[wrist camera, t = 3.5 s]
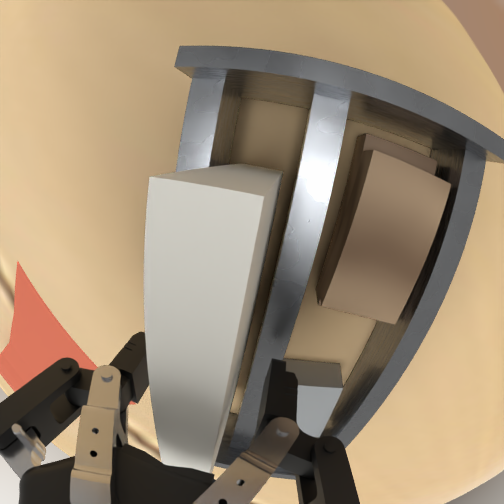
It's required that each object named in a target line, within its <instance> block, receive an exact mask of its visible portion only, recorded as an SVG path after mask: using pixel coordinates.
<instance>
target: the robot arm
mask: <svg viewBox="0 0 504 504" xmlns="http://www.w3.org/2000/svg"><path fill="white" fill-rule="evenodd" d="M148 386H149V376H148V366H147V354H146V339H145V333H144V332H139V333H137V334H135V335H133V336H132V337H131V339H130V340H129V341H128V343H126V345H125V346H124V348H122V349H121V351H120V352H119V353H118V354H117V356H116V357H115V358H114V359H113V361H112V362H111V363H110V364H109V365H103V366H100V367H98V368H97V369H95V370H90V369H84V368H80V367H79V364H78V362H77V361H76V360H74V359H72V358H68V357H66V358H61V359H59V360H58V361H56V362H55V363H53V364H52V365H51V366H49V367H48V368H47V369H45V370H44V371H43V372H41V373H40V374H38V375H37V376H36V377H34V378H33V379H32V380H30V381H29V382H28V383H26V384H25V385H24V386H22V387H21V388H20V389H18V390H17V391H16V392H14V393H13V394H12V395H10V396H9V397H8V398H6V399H5V400H4V401H2V402H1V403H0V455H1V456H2V457H3V458H4V459H5V460H6V462H7V463H8V464H9V465H10V467H11V468H12V469H13V471H14V472H15V473H16V474H17V475H18V477H19V478H20V479H21V480H20V497H19V504H249V503H250V502H251V501H252V499H253V498H254V497H255V496H256V494H257V493H258V492H259V491H260V489H261V488H262V487H263V485H264V484H265V483H266V482H267V480H268V479H269V478H270V476H271V475H272V474H273V472H274V471H275V469H276V468H277V467H280V468H283V469H285V470H287V471H290V472H292V473H295V477H296V484H297V491H298V499H299V504H360V502H359V498H358V494H357V490H356V487H355V483H354V479H353V475H352V472H351V468H350V465H349V461H348V457H347V454H346V450H345V447H344V444H343V443H342V442H341V440H339V439H338V438H336V437H333V436H323V437H321V438H319V439H318V438H315V437H313V436H310V435H308V434H306V433H304V432H303V431H302V430H301V429H300V428H299V426H298V424H297V398H298V397H297V395H298V379H297V377H296V375H295V373H293V372H288V371H286V361H284V360H279V359H274V358H272V359H271V362H270V366H269V369H268V372H267V375H266V378H265V381H264V386H263V391H262V396H261V402H260V408H259V414H258V419H257V425H256V430H255V435H254V439H256V440H255V441H254V442H253V443H252V444H251V446H250V447H249V448H248V449H247V450H246V451H245V452H242V453H241V454H240V455H239V456H238V457H237V459H236V460H235V461H234V462H233V463H232V464H231V465H230V466H229V467H228V468H227V469H226V471H225V472H224V473H223V474H222V475H221V476H220V477H219V478H218V479H217V480H214V475H215V474H211V473H207V472H204V471H200V470H196V469H193V468H186V467H177V466H169V465H165V464H163V463H162V462H160V461H158V460H157V459H155V458H154V457H152V456H151V455H149V454H148V453H146V452H145V451H142V450H140V449H137V448H135V447H133V446H131V445H128V438H127V432H128V405H129V403H130V402H131V401H133V402H135V403H137V404H138V402H139V401H140V399H141V397H142V396H143V394H144V392H145V391H146V389H147V387H148ZM80 415H81V416H80ZM79 416H80V422H79V429H78V436H77V445H76V454H75V456H73V457H70V458H67V459H63V460H59V461H55V462H52V463H48V464H44V465H41V461H44V459H45V454H46V448H45V447H46V446H47V445H48V444H49V443H50V442H51V441H52V440H54V439H55V438H56V437H57V436H58V435H59V434H60V433H61V432H62V431H63V430H64V429H66V428H67V427H68V426H69V425H70V424H71V423H72V422H73V421H74V420H75V419H76V418H77V417H79Z"/></svg>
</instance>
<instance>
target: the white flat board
mask: <svg viewBox="0 0 504 504" xmlns="http://www.w3.org/2000/svg"><path fill="white" fill-rule="evenodd" d="M283 172H284V171H280V170H275V169H270V168H265V167H259V166H254V165H249V164H243V163H240V164H230V165H222V166H214V167H206V168H199V169H192V170H185V171H179V172H173V173H167V174H161V175H156V176H150V178H149V187H148V198H147V210H146V225H145V246H144V319H145V339H146V354H147V366H148V376H149V386H150V394H151V402H152V409H153V416H154V422H155V429H156V434H157V440H158V445H159V451H160V455H161V460H162V463H163V464H165V465H169V466H177V467H186V468H193V469H196V470H200V471H204V472H207V473H211V474H212V471H213V468H214V465H215V461H216V458H217V454H218V451H219V447H220V444H221V441H222V437H223V434H224V430H225V426H226V423H227V419H228V416H229V412H230V409H231V405H232V401H233V398H234V394H235V391H236V387H237V382H238V378H239V374H240V370H241V365H242V361H243V357H244V352H245V348H246V344H247V339H248V335H249V330H250V326H251V322H252V317H253V313H254V308H255V304H256V299H257V295H258V290H259V286H260V281H261V276H262V272H263V267H264V263H265V258H266V253H267V249H268V244H269V239H270V235H271V230H272V225H273V220H274V216H275V211H276V206H277V201H278V196H279V191H280V187H281V182H282V177H283Z"/></svg>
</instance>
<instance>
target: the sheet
mask: <svg viewBox="0 0 504 504" xmlns="http://www.w3.org/2000/svg"><path fill="white" fill-rule="evenodd" d="M66 357H68V358H72V359H74V360H76V361H77V362H78V364H79V367H80V368H84V369H90V370H95V369H97V368H98V367H97V366H96V365H95V364H94V363H93V362H92V361H91V360H90V359H89V357H88V356H87V355H86V354H85V353H84V352H83V351H82V350H81V348H80V347H79V346H78V345H77V344H76V343H75V341H74V340H73V339H72V338H71V337H70V336H69V334H68V333H67V332H66V331H65V329H64V328H63V327H62V326H61V324H60V323H59V322H58V320H57V319H56V318H55V316H54V315H53V314H52V312H51V311H50V310H49V308H48V307H47V306H46V304H45V303H44V301H43V300H42V298H41V297H40V296H39V294H38V293H37V291H36V290H35V288H34V287H33V285H32V283H31V282H30V280H29V279H28V277H27V275H26V274H25V272H24V271H23V269H22V267H21V266H20V264H19V262H17V271H16V283H15V301H14V316H13V322H12V328H11V335H10V342H9V344H8V345H7V346H6V347H5V349H4V350H3V351H2V352H1V354H0V374H1V375H2V376H3V378H4V379H5V380H6V382H7V383H8V384H9V385H10V387H11V388H12V389H13V390H14V391H15V392H16V391H17V390H18V389H20V388H21V387H22V386H24V385H25V384H26V383H28V382H29V381H30V380H32V379H33V378H34V377H36V376H37V375H38V374H40V373H41V372H43V371H44V370H45V369H47V368H48V367H49V366H51V365H52V364H53V363H55V362H56V361H58V360H59V359H61V358H66ZM129 404H136V403H134V402H133V401H131V402H130V403H129Z"/></svg>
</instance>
